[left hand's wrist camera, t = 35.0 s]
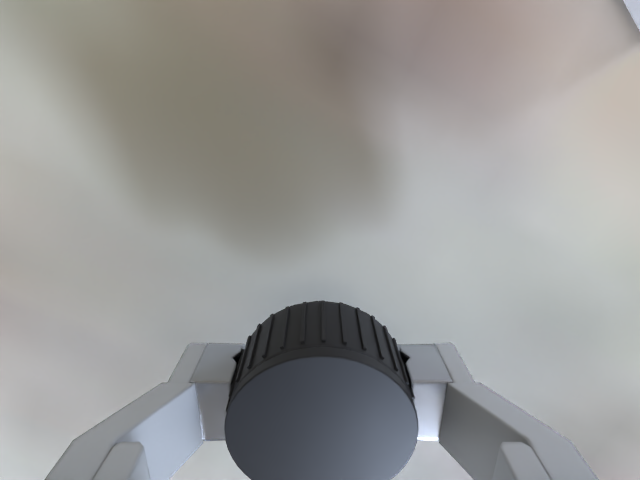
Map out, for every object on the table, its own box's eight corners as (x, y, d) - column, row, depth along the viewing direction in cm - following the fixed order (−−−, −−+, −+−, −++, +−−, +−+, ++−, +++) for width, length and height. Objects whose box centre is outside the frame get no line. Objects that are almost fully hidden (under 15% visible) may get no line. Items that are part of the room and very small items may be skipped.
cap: (262, 438, 11) (250, 515, 9) (221, 313, 10) (195, 371, 8) (408, 417, 11) (429, 490, 9) (390, 284, 10) (410, 337, 7)
